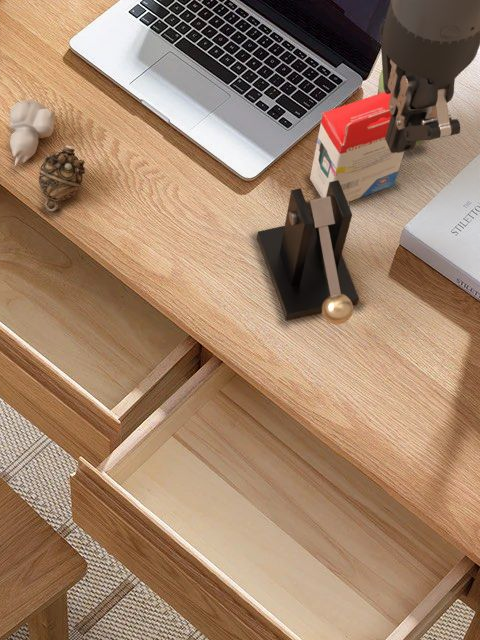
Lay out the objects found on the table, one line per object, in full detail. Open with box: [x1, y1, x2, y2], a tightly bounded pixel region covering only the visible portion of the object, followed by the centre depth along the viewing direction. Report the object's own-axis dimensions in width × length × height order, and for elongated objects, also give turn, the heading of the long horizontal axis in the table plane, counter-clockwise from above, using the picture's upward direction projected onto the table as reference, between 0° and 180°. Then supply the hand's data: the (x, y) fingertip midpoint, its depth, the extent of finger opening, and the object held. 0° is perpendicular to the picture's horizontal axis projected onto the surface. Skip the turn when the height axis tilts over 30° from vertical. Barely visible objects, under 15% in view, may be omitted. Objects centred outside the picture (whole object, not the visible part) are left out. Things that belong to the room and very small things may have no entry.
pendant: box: [38, 145, 86, 213], centre depth 140 cm, size 5×8×5 cm
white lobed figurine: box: [9, 99, 55, 167], centre depth 143 cm, size 5×7×8 cm
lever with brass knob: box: [305, 196, 354, 325], centre depth 127 cm, size 13×3×3 cm
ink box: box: [309, 92, 405, 203], centre depth 134 cm, size 8×5×15 cm, turn 111°
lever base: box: [256, 180, 360, 321], centre depth 130 cm, size 11×8×13 cm
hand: (398, 144), depth 110 cm, fingers closed
